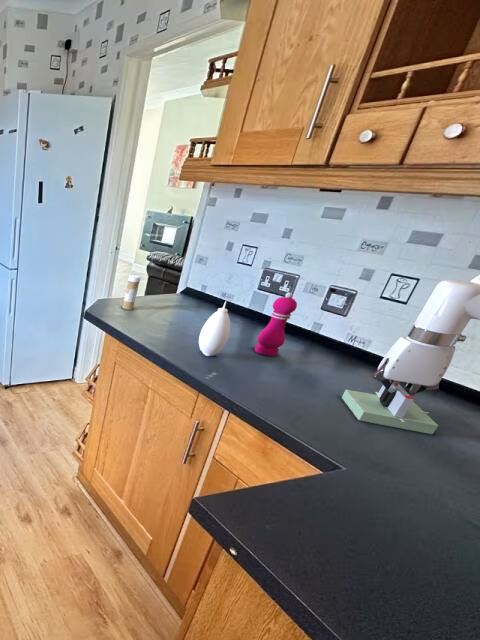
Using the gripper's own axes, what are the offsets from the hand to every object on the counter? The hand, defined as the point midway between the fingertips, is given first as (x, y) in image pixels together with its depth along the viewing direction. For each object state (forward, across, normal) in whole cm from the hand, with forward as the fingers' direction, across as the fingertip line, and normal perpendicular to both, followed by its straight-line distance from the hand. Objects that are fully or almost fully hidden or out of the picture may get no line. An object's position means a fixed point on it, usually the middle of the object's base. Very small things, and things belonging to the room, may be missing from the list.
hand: (389, 405), depth 102 cm
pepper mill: (+3, +21, -31) cm, 38 cm away
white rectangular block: (0, 0, 0) cm, 0 cm away
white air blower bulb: (+3, +39, -20) cm, 44 cm away
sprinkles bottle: (+3, +67, -56) cm, 88 cm away
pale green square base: (+3, 0, 0) cm, 3 cm away
